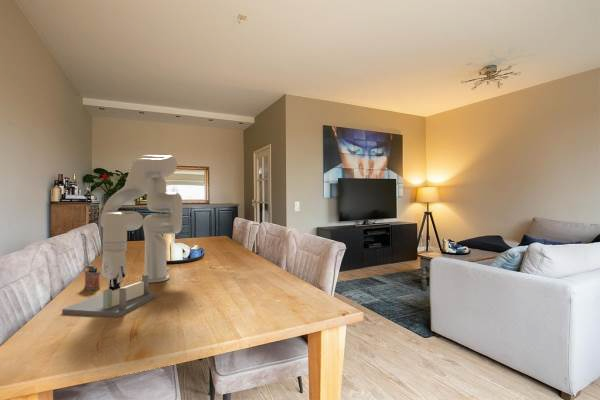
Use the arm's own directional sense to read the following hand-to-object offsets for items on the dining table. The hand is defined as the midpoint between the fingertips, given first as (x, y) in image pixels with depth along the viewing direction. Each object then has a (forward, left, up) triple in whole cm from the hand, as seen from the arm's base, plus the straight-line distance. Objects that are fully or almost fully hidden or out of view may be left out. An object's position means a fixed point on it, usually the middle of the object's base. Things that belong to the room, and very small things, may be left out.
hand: (114, 296), depth 110 cm
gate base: (-2, -2, -4) cm, 5 cm away
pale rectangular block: (-1, +3, -2) cm, 4 cm away
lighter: (-19, -25, -4) cm, 31 cm away
